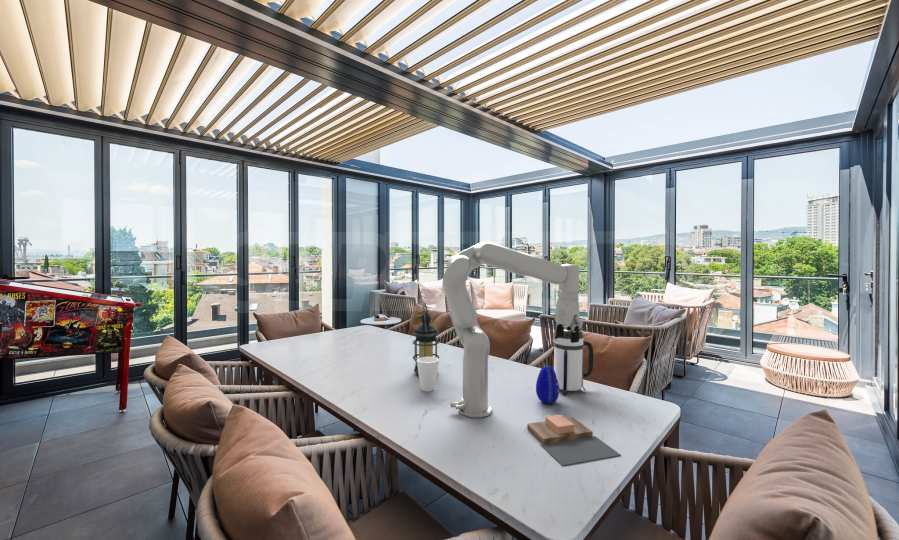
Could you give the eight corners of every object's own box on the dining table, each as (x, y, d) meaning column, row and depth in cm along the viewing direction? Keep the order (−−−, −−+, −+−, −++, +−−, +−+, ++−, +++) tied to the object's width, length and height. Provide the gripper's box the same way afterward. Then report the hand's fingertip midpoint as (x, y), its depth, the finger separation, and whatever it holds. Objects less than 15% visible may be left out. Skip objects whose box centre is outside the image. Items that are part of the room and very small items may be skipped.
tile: (558, 434, 125) (558, 426, 125) (545, 423, 133) (545, 416, 132) (574, 431, 127) (574, 424, 127) (560, 421, 134) (560, 414, 134)
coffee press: (583, 399, 159) (585, 327, 157) (545, 391, 167) (546, 323, 166) (592, 386, 174) (594, 320, 172) (557, 380, 182) (558, 317, 180)
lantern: (438, 378, 185) (438, 305, 183) (411, 377, 185) (410, 305, 183) (439, 368, 199) (439, 301, 197) (414, 368, 199) (414, 301, 197)
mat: (562, 466, 110) (562, 465, 110) (540, 445, 122) (541, 444, 122) (620, 455, 116) (620, 454, 116) (595, 436, 127) (595, 436, 127)
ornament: (560, 408, 150) (560, 370, 149) (535, 406, 152) (536, 369, 151) (558, 397, 161) (558, 362, 160) (535, 396, 162) (536, 361, 162)
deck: (543, 445, 122) (543, 438, 122) (527, 429, 132) (527, 423, 132) (592, 437, 127) (592, 431, 127) (572, 422, 138) (572, 417, 137)
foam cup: (413, 390, 168) (413, 361, 168) (422, 383, 177) (422, 355, 176) (433, 393, 165) (433, 363, 164) (441, 386, 173) (441, 358, 173)
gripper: (547, 293, 157) (546, 335, 158) (573, 299, 141) (572, 345, 142) (563, 293, 159) (562, 334, 160) (591, 298, 143) (589, 344, 144)
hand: (567, 339), depth 151 cm, fingers open, 9 cm apart
